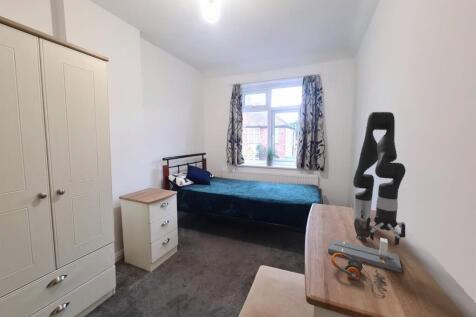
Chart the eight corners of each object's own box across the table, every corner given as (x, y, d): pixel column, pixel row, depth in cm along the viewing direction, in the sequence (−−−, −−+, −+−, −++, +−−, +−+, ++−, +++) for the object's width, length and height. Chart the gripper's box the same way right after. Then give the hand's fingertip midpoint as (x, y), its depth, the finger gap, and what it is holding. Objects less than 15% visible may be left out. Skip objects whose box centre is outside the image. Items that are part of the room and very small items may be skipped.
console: (331, 242, 110) (331, 238, 110) (397, 258, 95) (397, 254, 95) (327, 252, 100) (328, 248, 100) (401, 272, 85) (401, 267, 85)
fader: (378, 252, 96) (379, 237, 95) (386, 254, 94) (387, 238, 94) (379, 257, 92) (380, 241, 91) (387, 259, 90) (388, 243, 90)
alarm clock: (370, 243, 109) (372, 213, 108) (358, 242, 110) (360, 212, 109) (362, 234, 120) (363, 207, 118) (351, 233, 121) (353, 206, 119)
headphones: (389, 293, 69) (328, 259, 81) (383, 306, 71) (324, 271, 82) (390, 269, 83) (338, 243, 94) (385, 280, 84) (334, 253, 95)
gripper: (405, 207, 91) (402, 243, 92) (367, 202, 98) (365, 234, 100) (408, 213, 84) (405, 250, 86) (367, 206, 92) (364, 241, 93)
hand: (383, 242), depth 93 cm, fingers open, 8 cm apart
